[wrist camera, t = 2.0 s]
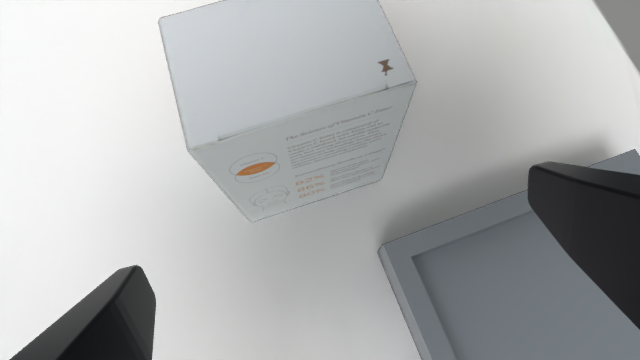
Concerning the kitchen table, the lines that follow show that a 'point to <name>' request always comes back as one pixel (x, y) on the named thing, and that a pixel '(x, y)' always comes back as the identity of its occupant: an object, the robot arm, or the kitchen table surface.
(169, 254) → the kitchen table surface
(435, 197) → the kitchen table surface
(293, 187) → the small box
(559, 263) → the tray
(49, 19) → the kitchen table surface
